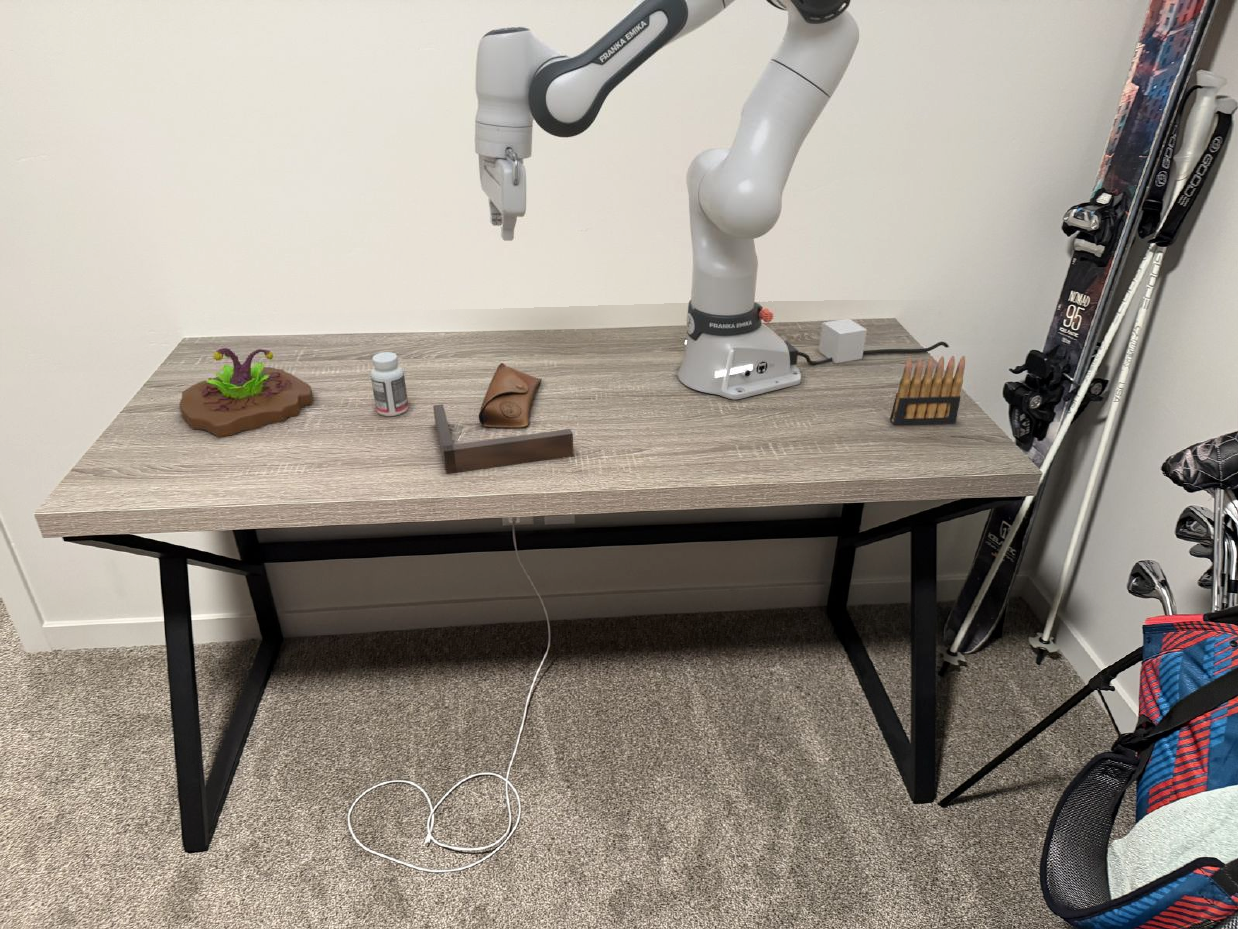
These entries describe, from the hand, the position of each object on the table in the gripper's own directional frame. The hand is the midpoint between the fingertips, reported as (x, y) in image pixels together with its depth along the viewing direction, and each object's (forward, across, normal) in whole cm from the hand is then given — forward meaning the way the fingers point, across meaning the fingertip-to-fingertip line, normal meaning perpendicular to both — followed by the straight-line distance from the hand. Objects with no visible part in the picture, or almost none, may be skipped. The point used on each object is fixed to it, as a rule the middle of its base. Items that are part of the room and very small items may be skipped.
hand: (501, 231), depth 139 cm
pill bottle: (+30, -3, +19) cm, 35 cm away
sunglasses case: (+28, -7, -1) cm, 29 cm away
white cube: (+22, -5, -66) cm, 70 cm away
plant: (+32, +5, +42) cm, 53 cm away
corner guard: (+28, -19, +3) cm, 34 cm away
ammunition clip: (+23, -33, -65) cm, 77 cm away
